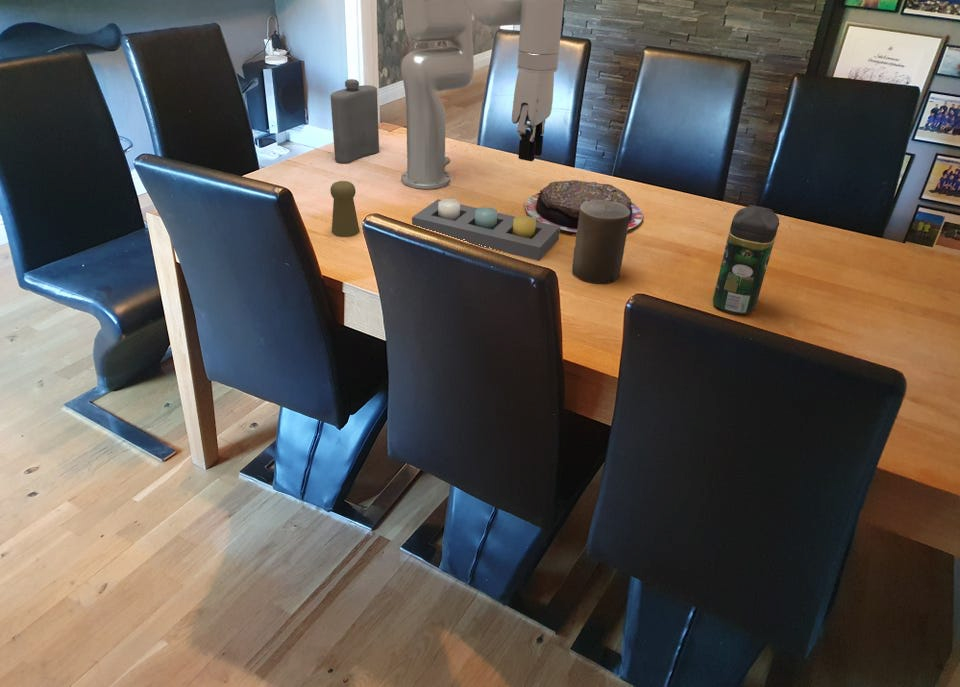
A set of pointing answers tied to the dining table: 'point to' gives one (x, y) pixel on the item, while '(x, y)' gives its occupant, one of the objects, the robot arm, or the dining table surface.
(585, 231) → the pillar candle
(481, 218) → the teal button
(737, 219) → the coffee jar
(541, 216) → the chocolate cake
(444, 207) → the ivory button
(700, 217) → the dining table surface
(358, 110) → the flask
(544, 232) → the console
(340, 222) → the cork
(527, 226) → the mustard button
